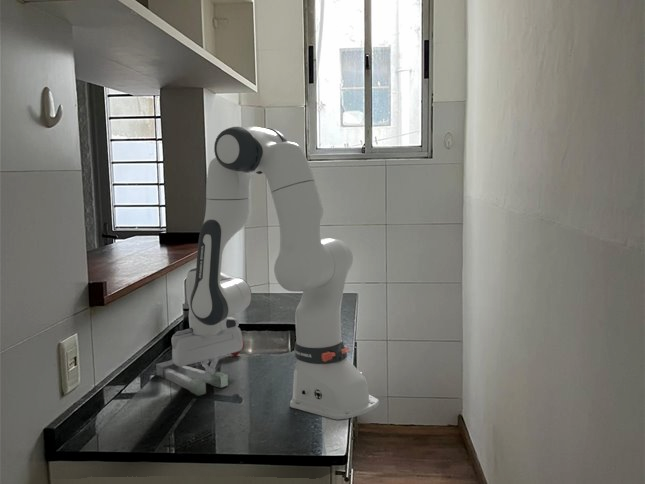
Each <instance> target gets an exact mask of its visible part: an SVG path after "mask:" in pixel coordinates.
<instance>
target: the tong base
mask: <svg viewBox="0 0 645 484" xmlns="http://www.w3.org/2000/svg"><path fill="white" fill-rule="evenodd" d="M155 366H156V367H155V369H156V376H158V377H160V378H162V379H165V380H168V381H170V382H172V383H174V384H175V385H177V386H180V387H182V388H184V389H186V390H187V391H190V393H192V394H193V395H195V396H197V397H198V396H202V395H205V394H207V385H206V384H207V383H205V382H204V381H202V380H200V379H192V378H189V377H187V376H185V375H183V374H181V370H180V367H179V366H177V365H175V364H174V363H173V362H172V359H171V360H167V361H163V362H159V363H155Z"/></svg>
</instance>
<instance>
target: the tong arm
mask: <svg viewBox="0 0 645 484" xmlns="http://www.w3.org/2000/svg"><path fill="white" fill-rule="evenodd" d="M172 362H173V361H172ZM180 370H181V374H183V375H185V376H187V377H189V378H191V379H193V380H194V379H200V380H202V381H204V382H205V384H209V385H211V386H214V387H217V388H220V389H221V388H225V387H227V386H229V379H228V378H229V377H228V373H224V372H220V371H215V373H210V372H207V371H205V370H202V369H199V368H194V367H191V366H188V365H186V366H182V367H180Z"/></svg>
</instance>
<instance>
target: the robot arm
mask: <svg viewBox="0 0 645 484" xmlns="http://www.w3.org/2000/svg"><path fill="white" fill-rule="evenodd" d="M213 149H214V150H213V153H214V156H215V157H214V158H213V159H211V161H210V162H209V165H208V170H207V175H206V184H205V188H206V189H205V194H206V195H205V198H206V199H205V201H206V202H205V203H206V204H205V214H204V220H203V223H202V225H201V228H200V230H199V235H198V245H197V251H196V252H197V253H196V254H197V255H196V265H195V268H191V269H190V270H189V271H187V274H186V277H185V278H186V280H185V289H186V290H185V292H186V302H187V304H188V308H189V310H188V323H189V328H186V329H183V330H177V331H175V333H174V334H172V337H170V339H171V346H172V348H171V349H172V350H171V353H172V354H171V355H172V356H171V358H172V359H171V360H172V361H173V363H174V364H175V365H177V366H179V367H182V366H188V365H189V366H190V365H192V364H197V363H200V364H201V365H202V367H203V368H204V371H207V372H210V373H215V372H216V366H217V365H218V362H219V357H222V356H226V355H231V354H230V353H234V352H238V351H241V349H242V347H243V340H244V339H243V340H242V338H243V335H242V334H243V333H242V330H241V328H240V327H239V324H240V321H239V319H238V318H235V317H233V316H235V315H236V314H239V313H241V312H243V311H245V310H246V309H248V308H249V306H250V305H251V303H252V298H253V296H252V290H251V287H250V285H249V284H248V282H247V281H245V279H243V278H241V277H237V276H232V275H230V274H227V273H225V272H222V262H223V261H222V260H223V253H224V249H225V247H226V245H227V244H228V243H229V241H230V240H231V239H232V238H233V237H234V236H235V235H236V234H237V233H239V232H240V231H241V230H242V229H243V228H244V227H245V226H246V224H247V223H248V220H249V214H250V206H251V205H250V180H251V178H252V176H253V175H255V174H257V175H261V174H264V175H265V178H266V180H267V182H268V186H269V190H270V194H271V197H272V200H273V204H274V208H275V213H276V216H277V219H278V225H279V226H278V227H279V252H278V256H277V257H276V259H275V262H274V266H273V267H274V268H273V272H274V277H275V279H276V281H277V283H278V284H279V286H281V287H282V288H283V289H284V290H286V291H289V292H297V293H298V292H300V293H301V292H302V294H301V298H300V301H299V303H298V305H297V307H296V309H295V313H294V317H295V318H294V319H295V336H296V337H295V339H296V341H295V343H294V357H295V358H296V364H295V367H294V371H293V383H292V384H293V385H292V399H291V400H290V402H289V403H290V404H289V407H290V408H292V409H297V410H301V411H304V412H306V413H307V412H308V413H311V414H314V415H318V416H322V417H326V418H328V419H332V420H345V419H346V420H347V419H351V418H354V417H355V418H356V417H359V416H361V415H364V414H367V413H368V412H371V411H373V410H374V409H376V408H377V407H378V406H379V405H380V400H379V399H378V398H377V397H375V396H373V395H371V394H369V393H370V392H369V387H368V382H367V379H366V377H365V376H364V374H363V372H361V371H359V370H358V368H356V366H355V365H354V364H353V363H352V361H351V360H350V359H349V357H348V353H350V347H349V346H347V347H346V346H345V343H344V342H343V341H344V340H343V339H342V329H341V328H342V324H341V323H342V321H341V319H342V318H341V313H342V312H341V310H342V301H343V295H344V290H345V289H344V288H345V286H346V285H345V284H346V280H347V276H348V273H349V272H350V269H351V268H352V265H353V262H354V261H353V260H354V258H353V252H352V249H351V248H350V246H349V245H348V244H347V242H344V241H343V240H342V239H337V238H329V237H324V238H321V220H322V217H323V215H324V207H323V204H322V200H321V198H320V194H319V190H318V186H317V183H316V180H315V176H314V173H313V171H312V169H311V165H310V163H309V160H308V158H307V157H306V154H305V153H304V151H303V148H302V147H301V146H300V145H299V144H298V143H296V142H292V141H288V139H287V138H286V137H285V135H284V134H282V133H281V132H280V131H278V130H277V129H274V128H264V127H258V126H254V125H253V126H252V125H251V126H250V125H249V126H232V127H228V128H226V129H223V130H222V131H221V132H219V134H218V135H217V136H216V138H215V141H214V148H213ZM241 352H242V351H241ZM209 360H210V361H211V362H210V361H209ZM209 362H210V365H208V364H209Z"/></svg>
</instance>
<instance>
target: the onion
mask: <svg viewBox="0 0 645 484" xmlns="http://www.w3.org/2000/svg"><path fill="white" fill-rule="evenodd" d="M242 340H243V347H242V349H241V351H238V352H234V353H230V354H229V355H232V356H234V357H237V356H238V355H239V354H240V353H241V352H242V351H243V350H244V347H245V341H244V338H243V337H242Z"/></svg>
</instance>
